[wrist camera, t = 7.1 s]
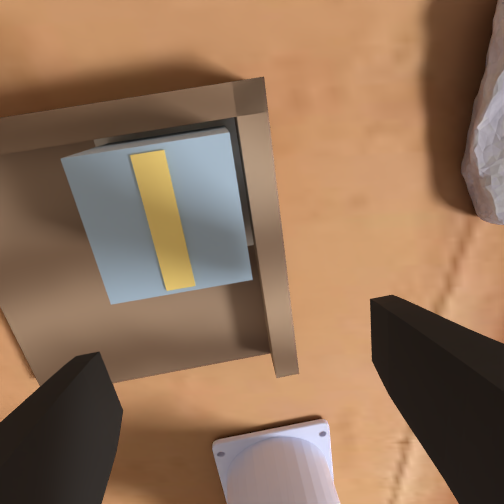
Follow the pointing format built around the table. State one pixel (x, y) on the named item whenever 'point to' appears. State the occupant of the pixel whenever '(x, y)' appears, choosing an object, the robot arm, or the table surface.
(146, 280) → the cube
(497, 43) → the stone block
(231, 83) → the tray
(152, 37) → the table surface
